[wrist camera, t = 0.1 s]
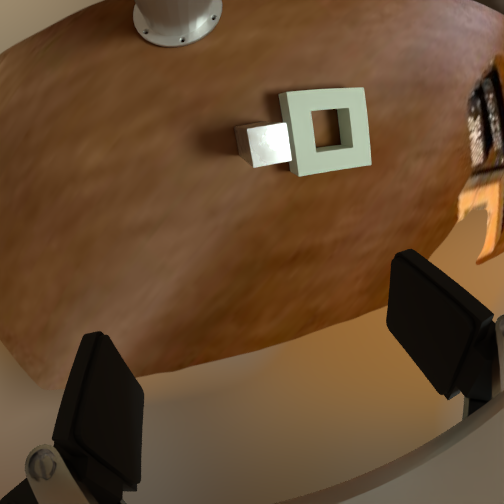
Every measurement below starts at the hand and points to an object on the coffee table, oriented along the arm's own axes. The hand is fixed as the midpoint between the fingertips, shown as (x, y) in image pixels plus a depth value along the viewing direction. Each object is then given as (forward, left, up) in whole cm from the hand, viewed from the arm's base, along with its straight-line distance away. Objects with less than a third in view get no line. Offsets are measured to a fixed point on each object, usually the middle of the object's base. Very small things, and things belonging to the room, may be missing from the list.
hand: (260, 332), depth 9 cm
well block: (-2, +18, -36) cm, 41 cm away
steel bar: (-2, +7, -36) cm, 37 cm away
